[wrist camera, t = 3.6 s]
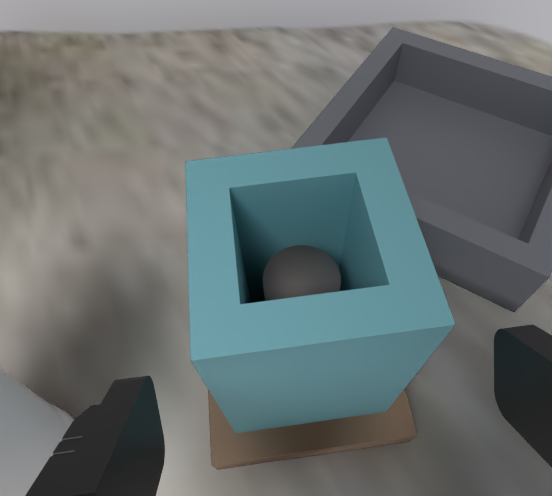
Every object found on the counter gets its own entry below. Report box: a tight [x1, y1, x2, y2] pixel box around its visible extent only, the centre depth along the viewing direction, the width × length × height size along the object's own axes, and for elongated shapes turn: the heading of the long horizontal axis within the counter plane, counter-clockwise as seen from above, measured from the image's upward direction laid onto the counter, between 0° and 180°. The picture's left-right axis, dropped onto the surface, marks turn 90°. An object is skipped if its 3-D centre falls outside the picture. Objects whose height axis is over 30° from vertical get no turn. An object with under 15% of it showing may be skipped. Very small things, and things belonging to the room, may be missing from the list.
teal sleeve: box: [185, 138, 456, 433], centre depth 16 cm, size 6×8×9 cm
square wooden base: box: [208, 245, 418, 469], centre depth 17 cm, size 8×8×8 cm
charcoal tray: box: [291, 28, 552, 312], centre depth 25 cm, size 13×13×4 cm
